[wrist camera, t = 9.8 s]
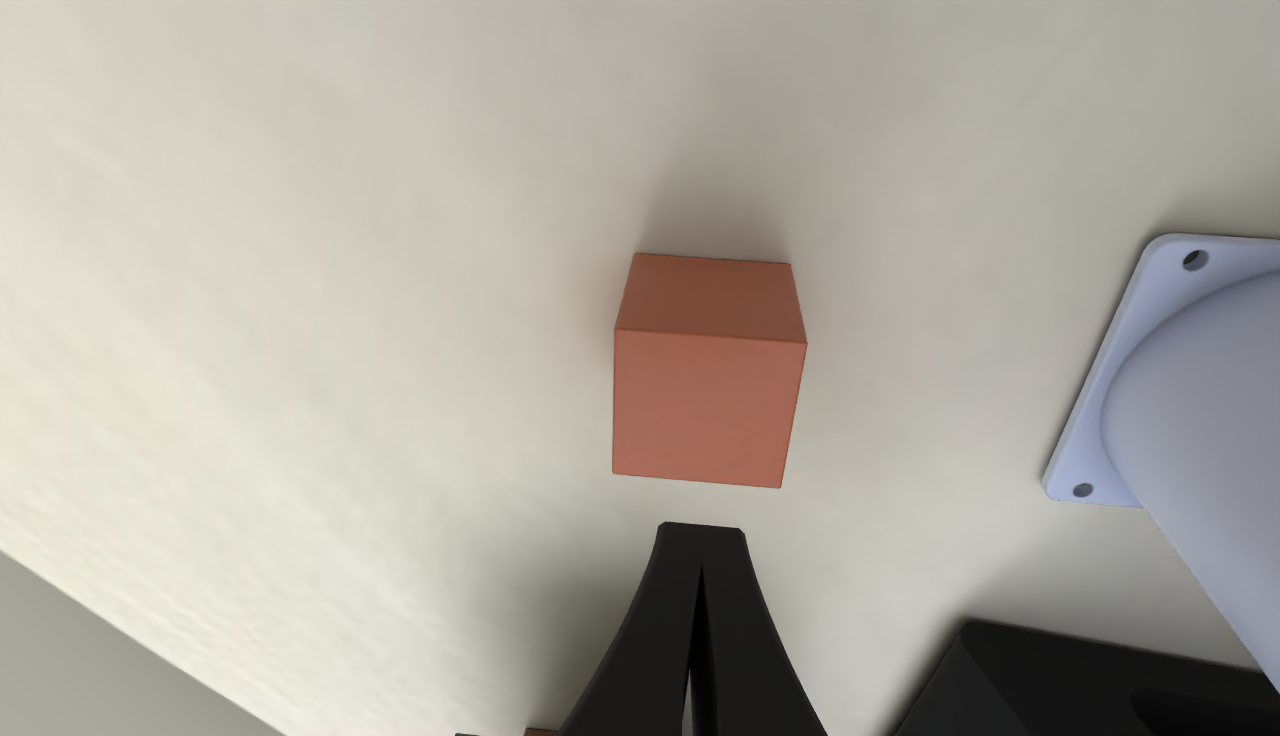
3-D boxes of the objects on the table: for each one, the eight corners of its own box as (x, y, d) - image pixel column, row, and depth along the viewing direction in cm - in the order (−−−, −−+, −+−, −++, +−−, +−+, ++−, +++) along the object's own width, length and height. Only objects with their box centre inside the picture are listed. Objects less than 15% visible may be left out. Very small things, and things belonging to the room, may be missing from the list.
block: (791, 263, 18) (808, 342, 14) (770, 394, 20) (781, 489, 17) (633, 252, 18) (614, 328, 15) (629, 383, 20) (611, 474, 17)
